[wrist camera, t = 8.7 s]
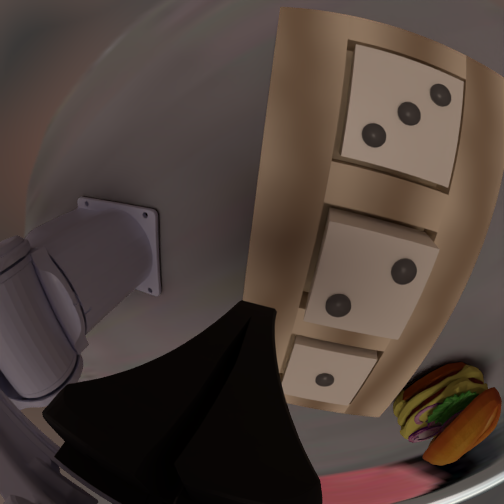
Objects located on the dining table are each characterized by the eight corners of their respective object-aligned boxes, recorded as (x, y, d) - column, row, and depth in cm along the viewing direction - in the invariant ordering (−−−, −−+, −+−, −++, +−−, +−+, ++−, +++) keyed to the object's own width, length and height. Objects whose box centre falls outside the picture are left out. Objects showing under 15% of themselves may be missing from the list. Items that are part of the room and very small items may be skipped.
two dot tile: (307, 297, 17) (302, 323, 15) (329, 207, 15) (329, 222, 12) (392, 315, 16) (398, 342, 14) (425, 232, 13) (441, 251, 11)
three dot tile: (338, 152, 14) (341, 156, 12) (351, 57, 12) (356, 42, 9) (431, 179, 13) (449, 188, 11) (446, 87, 10) (465, 81, 8)
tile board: (241, 365, 25) (231, 388, 22) (288, 25, 12) (280, 7, 10) (377, 393, 22) (378, 417, 20) (488, 86, 10) (511, 82, 7)
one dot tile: (284, 370, 22) (278, 394, 20) (299, 320, 20) (294, 345, 17) (348, 383, 21) (347, 407, 19) (374, 336, 18) (377, 361, 16)
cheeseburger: (397, 364, 20) (439, 453, 11) (481, 331, 19) (531, 393, 10) (382, 421, 24) (405, 492, 14) (456, 393, 23) (487, 449, 13)
